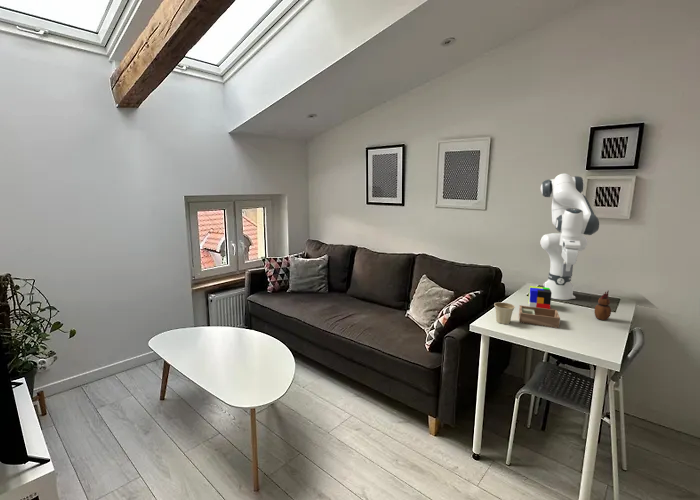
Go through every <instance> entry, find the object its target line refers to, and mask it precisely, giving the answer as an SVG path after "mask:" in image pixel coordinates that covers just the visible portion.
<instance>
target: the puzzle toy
mask: <svg viewBox="0 0 700 500" xmlns="http://www.w3.org/2000/svg"><path fill="white" fill-rule="evenodd" d="M551 294H552V292H551V290H550V288H545V287H544V286H543V287H542V286H532V285H529V290H528V300H527V301H528V302H527V304H528V306H529V307H537V308H546V309H551V304H552V303H551V302H552V298H551Z"/></svg>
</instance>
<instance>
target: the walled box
mask: <svg viewBox="0 0 700 500" xmlns="http://www.w3.org/2000/svg"><path fill="white" fill-rule="evenodd" d="M518 321H519V324H525V325H532V326H539V327H546V328H553V329H560V322H561V316H560V314H559V312H558V309H553V308H550V309H546V308H537V307H529V305H522V304H521V305H519V310H518Z"/></svg>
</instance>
